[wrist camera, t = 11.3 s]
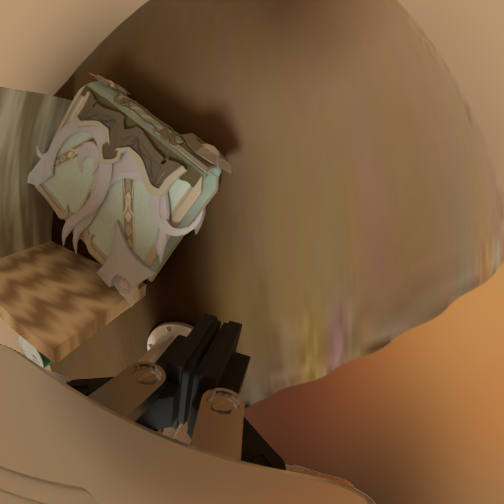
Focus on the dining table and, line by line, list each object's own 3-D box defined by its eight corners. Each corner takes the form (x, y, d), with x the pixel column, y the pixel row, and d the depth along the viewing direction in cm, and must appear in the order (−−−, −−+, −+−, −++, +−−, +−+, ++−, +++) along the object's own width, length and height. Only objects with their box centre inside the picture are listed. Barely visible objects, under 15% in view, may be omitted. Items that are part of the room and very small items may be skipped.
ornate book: (252, 171, 34) (108, 69, 33) (236, 170, 25) (70, 54, 24) (160, 292, 41) (49, 181, 40) (128, 321, 32) (10, 186, 31)
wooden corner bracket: (183, 106, 33) (79, 56, 14) (145, 295, 40) (55, 363, 21) (66, 100, 35) (-23, 86, 16) (45, 247, 43) (-35, 277, 24)
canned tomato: (48, 318, 48) (14, 338, 38) (62, 308, 46) (25, 330, 35) (66, 349, 49) (35, 373, 39) (82, 342, 47) (48, 368, 36)
